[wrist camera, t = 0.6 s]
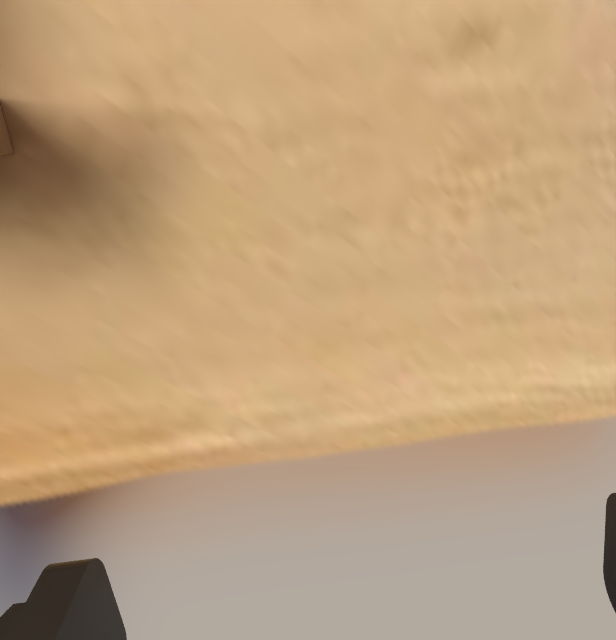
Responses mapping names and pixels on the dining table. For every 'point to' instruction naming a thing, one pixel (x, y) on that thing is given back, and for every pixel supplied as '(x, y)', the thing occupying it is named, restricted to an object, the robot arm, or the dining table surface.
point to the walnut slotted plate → (4, 137)
